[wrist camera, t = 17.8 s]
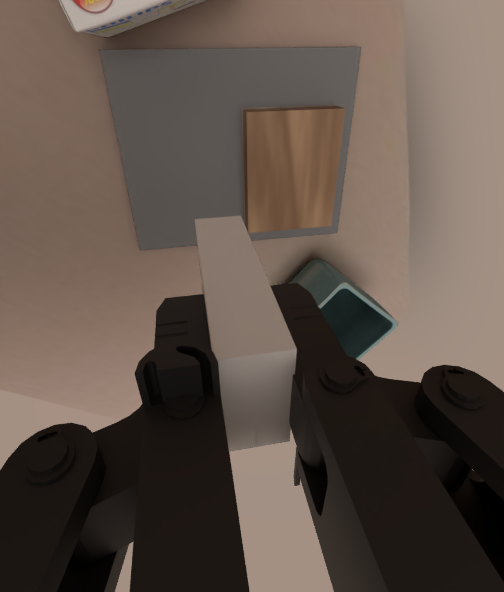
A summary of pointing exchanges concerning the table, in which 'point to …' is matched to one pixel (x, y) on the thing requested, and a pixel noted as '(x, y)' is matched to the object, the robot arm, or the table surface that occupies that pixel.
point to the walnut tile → (290, 166)
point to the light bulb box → (118, 14)
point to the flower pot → (346, 308)
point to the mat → (211, 127)
